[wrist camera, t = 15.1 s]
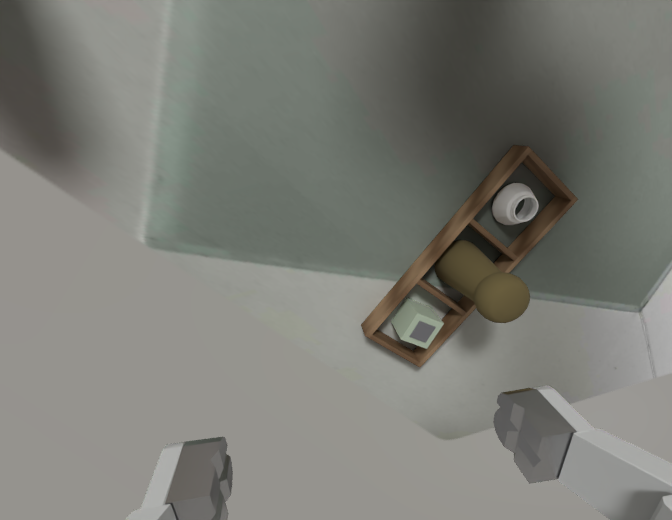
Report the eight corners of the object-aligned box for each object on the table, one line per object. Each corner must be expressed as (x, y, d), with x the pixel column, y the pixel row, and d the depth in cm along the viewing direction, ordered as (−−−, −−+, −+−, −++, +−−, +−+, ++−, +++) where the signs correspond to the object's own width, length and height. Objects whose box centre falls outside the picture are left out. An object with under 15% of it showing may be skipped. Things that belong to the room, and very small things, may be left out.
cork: (476, 281, 44) (534, 329, 33) (432, 285, 43) (478, 335, 33) (482, 238, 41) (547, 275, 31) (436, 241, 40) (487, 281, 30)
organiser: (513, 145, 37) (528, 146, 35) (561, 195, 40) (578, 199, 38) (361, 324, 43) (365, 336, 41) (413, 355, 47) (419, 367, 44)
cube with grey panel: (406, 296, 43) (417, 313, 39) (430, 307, 44) (444, 324, 40) (391, 321, 44) (401, 340, 40) (415, 330, 45) (427, 349, 41)
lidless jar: (536, 192, 40) (505, 175, 39) (555, 197, 37) (522, 179, 36) (513, 229, 42) (482, 214, 40) (529, 236, 39) (497, 220, 37)
